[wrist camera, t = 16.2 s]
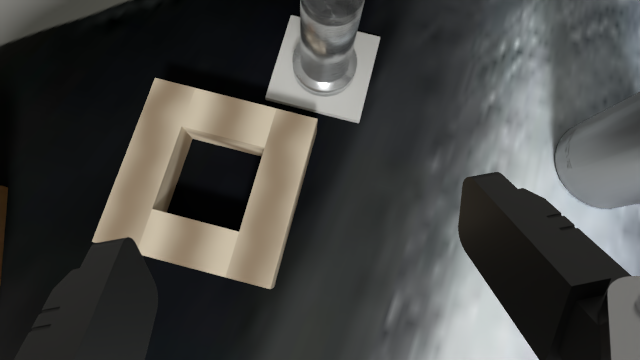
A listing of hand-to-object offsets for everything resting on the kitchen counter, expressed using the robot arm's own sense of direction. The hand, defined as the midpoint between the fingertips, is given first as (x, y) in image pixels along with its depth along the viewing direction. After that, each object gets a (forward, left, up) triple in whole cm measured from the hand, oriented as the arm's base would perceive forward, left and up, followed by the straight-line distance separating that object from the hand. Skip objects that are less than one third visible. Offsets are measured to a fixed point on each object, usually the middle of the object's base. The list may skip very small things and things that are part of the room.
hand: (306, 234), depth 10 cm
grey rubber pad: (+3, -20, -29) cm, 35 cm away
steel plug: (+3, -20, -28) cm, 34 cm away
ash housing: (+10, -5, -29) cm, 31 cm away
